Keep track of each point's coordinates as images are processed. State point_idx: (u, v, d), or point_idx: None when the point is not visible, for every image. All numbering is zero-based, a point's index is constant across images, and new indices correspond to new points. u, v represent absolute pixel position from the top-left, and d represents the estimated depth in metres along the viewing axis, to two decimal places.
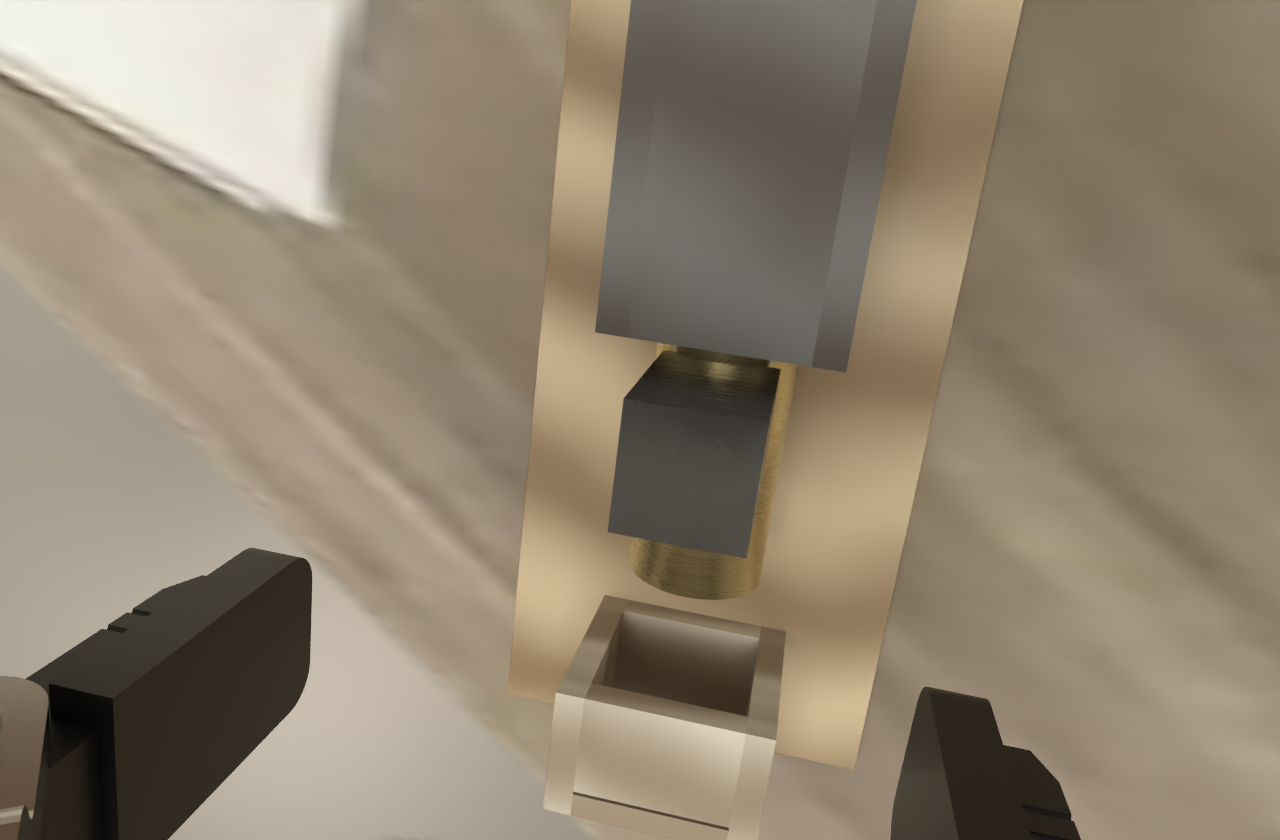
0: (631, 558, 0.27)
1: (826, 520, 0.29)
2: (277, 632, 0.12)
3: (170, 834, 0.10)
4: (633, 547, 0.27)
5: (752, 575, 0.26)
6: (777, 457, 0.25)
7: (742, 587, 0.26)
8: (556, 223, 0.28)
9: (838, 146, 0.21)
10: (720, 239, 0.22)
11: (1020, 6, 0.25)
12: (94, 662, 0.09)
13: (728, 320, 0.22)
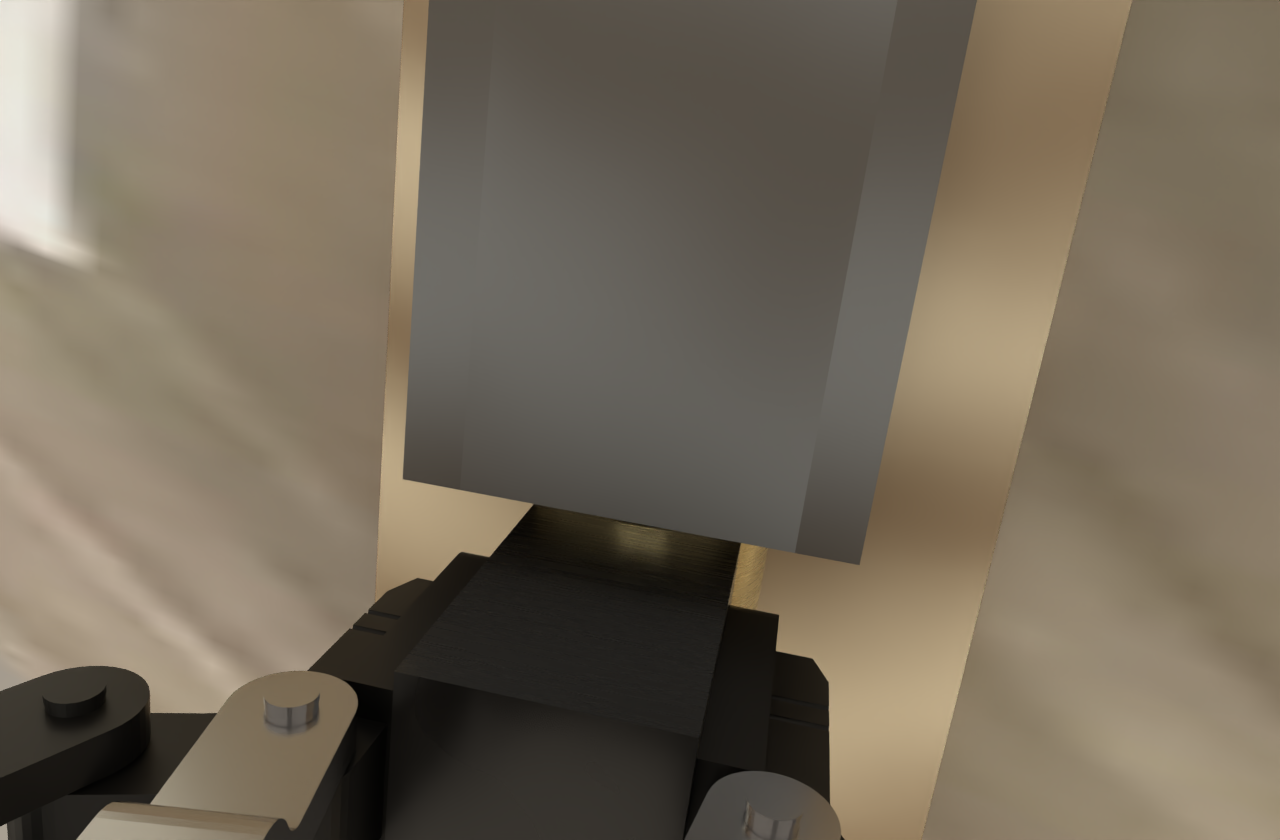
0: None
1: None
2: None
3: None
4: None
5: None
6: None
7: None
8: (400, 264, 0.18)
9: (846, 141, 0.10)
10: (622, 317, 0.11)
11: None
12: (374, 660, 0.10)
13: (640, 465, 0.12)
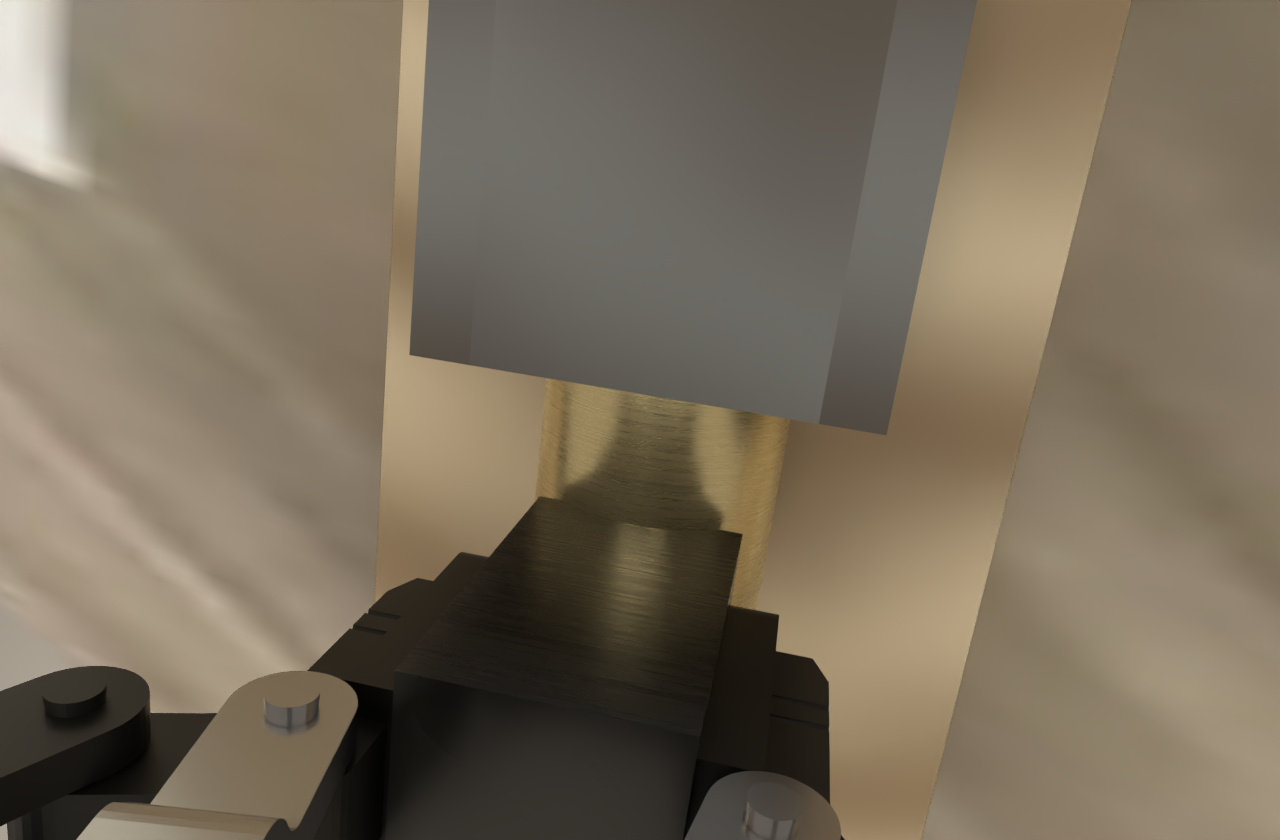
0: None
1: (837, 646, 0.19)
2: None
3: None
4: None
5: None
6: None
7: None
8: (404, 173, 0.18)
9: None
10: (639, 173, 0.11)
11: None
12: (374, 660, 0.10)
13: (657, 333, 0.11)
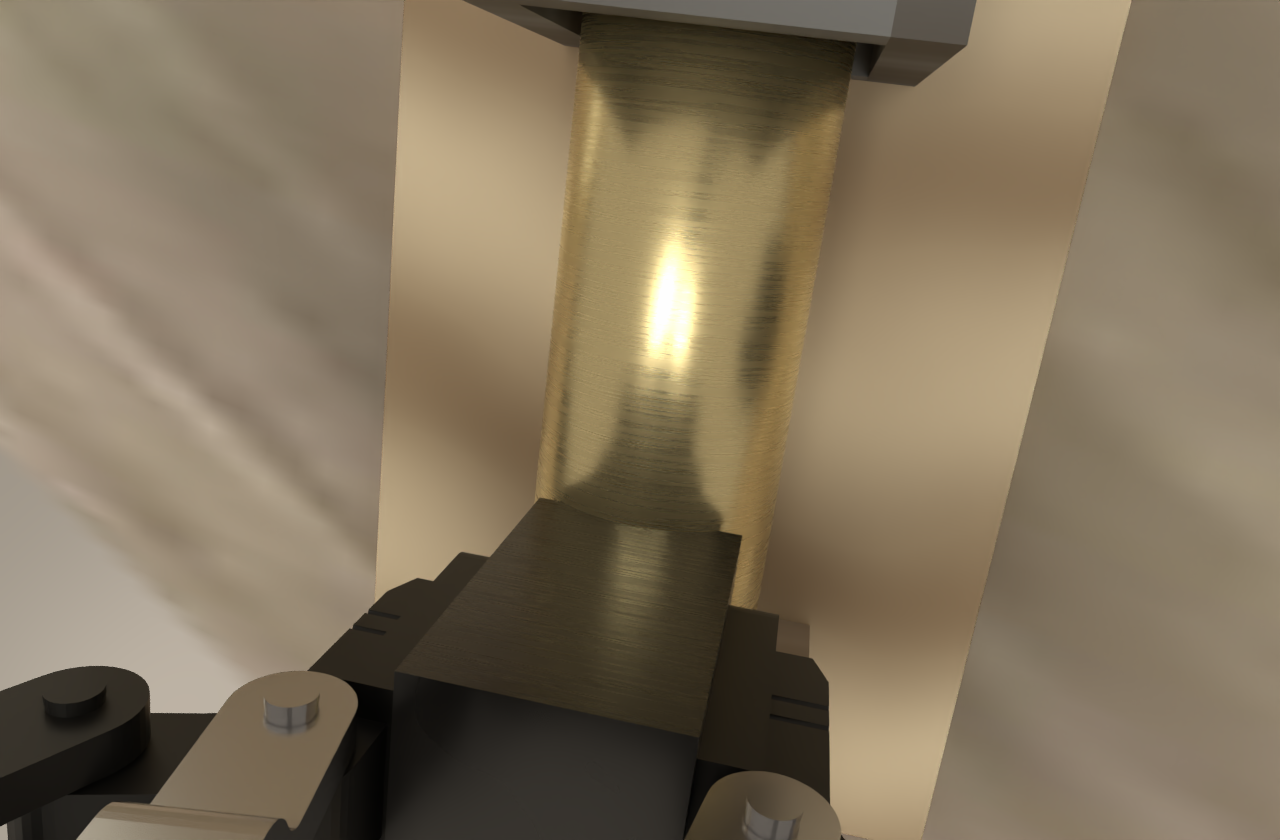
0: None
1: (880, 436, 0.17)
2: None
3: None
4: None
5: None
6: None
7: None
8: None
9: None
10: None
11: None
12: (374, 660, 0.10)
13: None
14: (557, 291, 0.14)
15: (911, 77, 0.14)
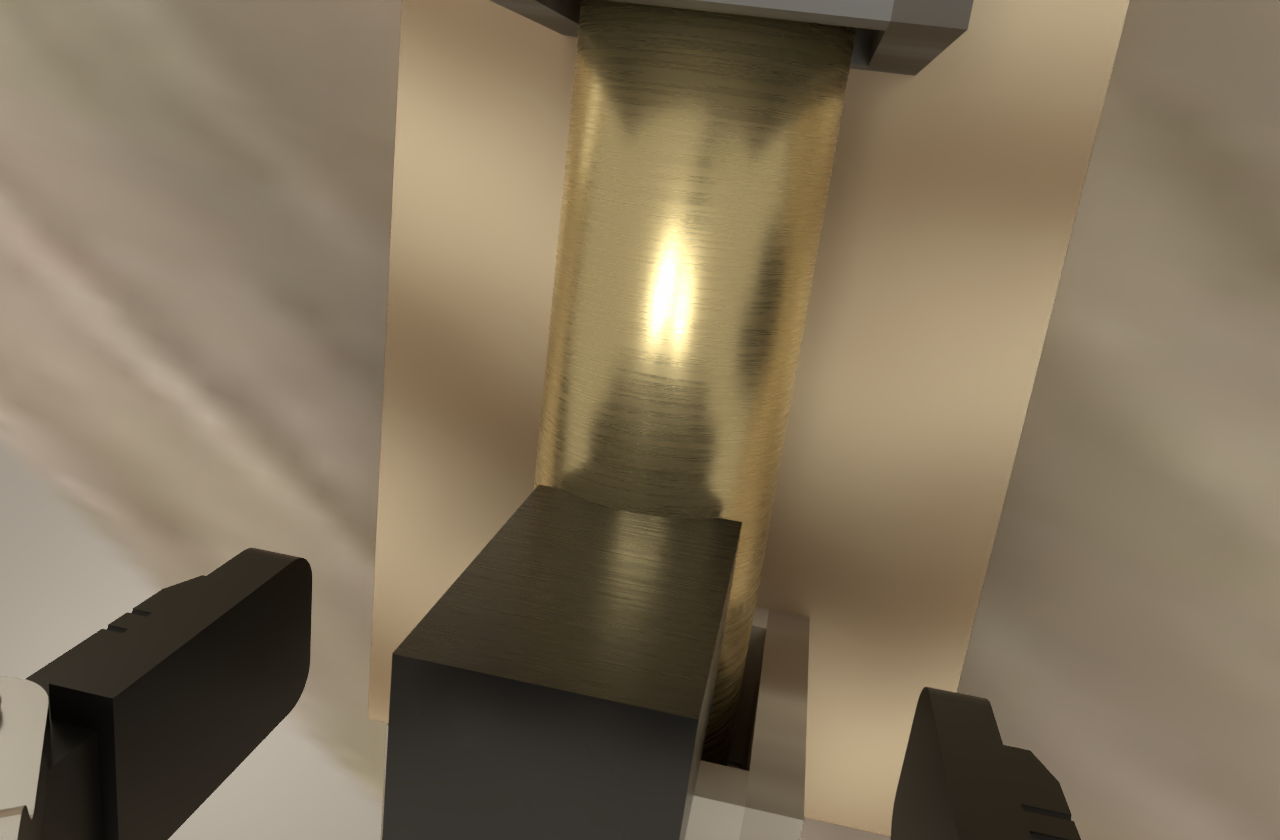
0: None
1: (880, 427, 0.17)
2: (277, 631, 0.12)
3: (170, 834, 0.10)
4: None
5: None
6: (739, 656, 0.15)
7: None
8: None
9: None
10: None
11: None
12: (94, 662, 0.09)
13: None
14: (556, 277, 0.14)
15: (911, 65, 0.14)
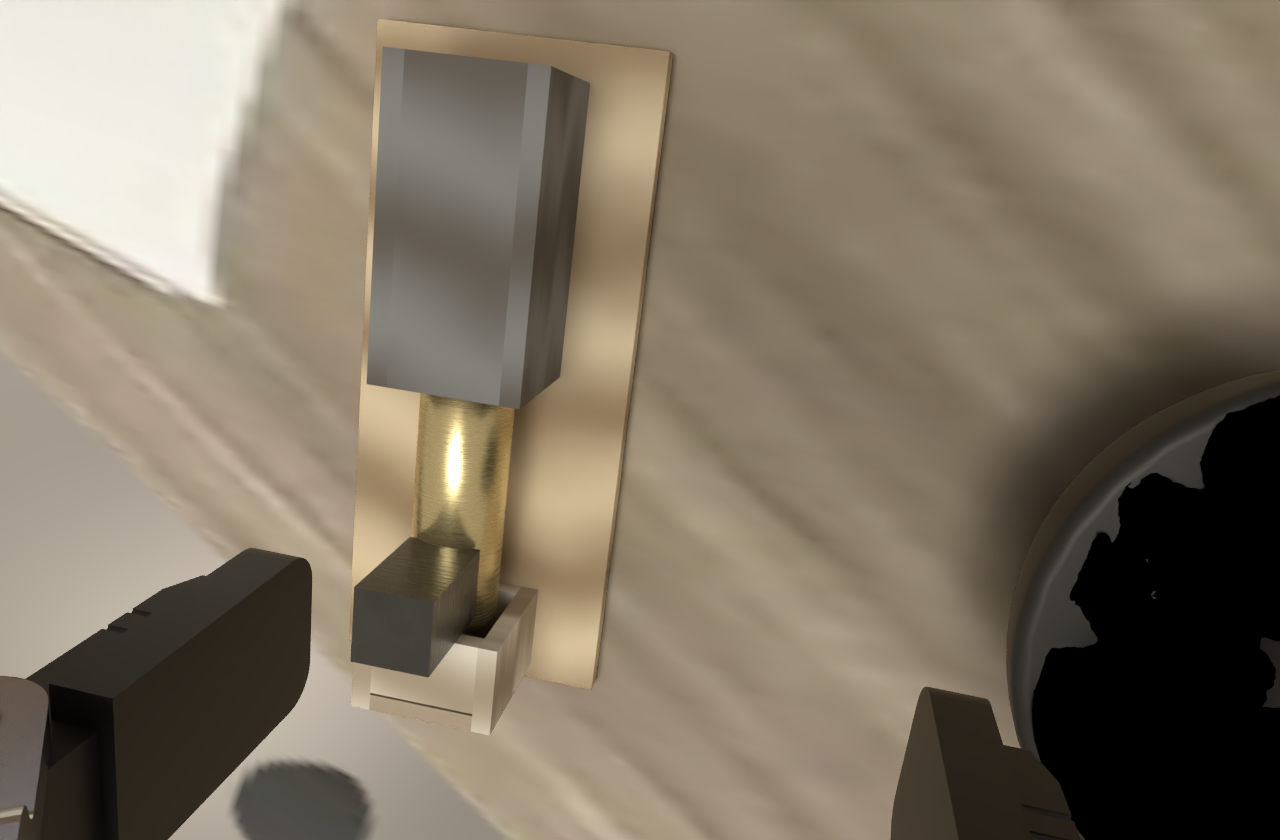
0: None
1: (559, 510, 0.42)
2: (277, 631, 0.12)
3: (170, 834, 0.10)
4: None
5: None
6: (488, 600, 0.40)
7: None
8: (368, 305, 0.42)
9: (503, 271, 0.34)
10: (438, 326, 0.35)
11: (653, 171, 0.38)
12: (94, 662, 0.09)
13: (446, 376, 0.35)
14: None
15: None
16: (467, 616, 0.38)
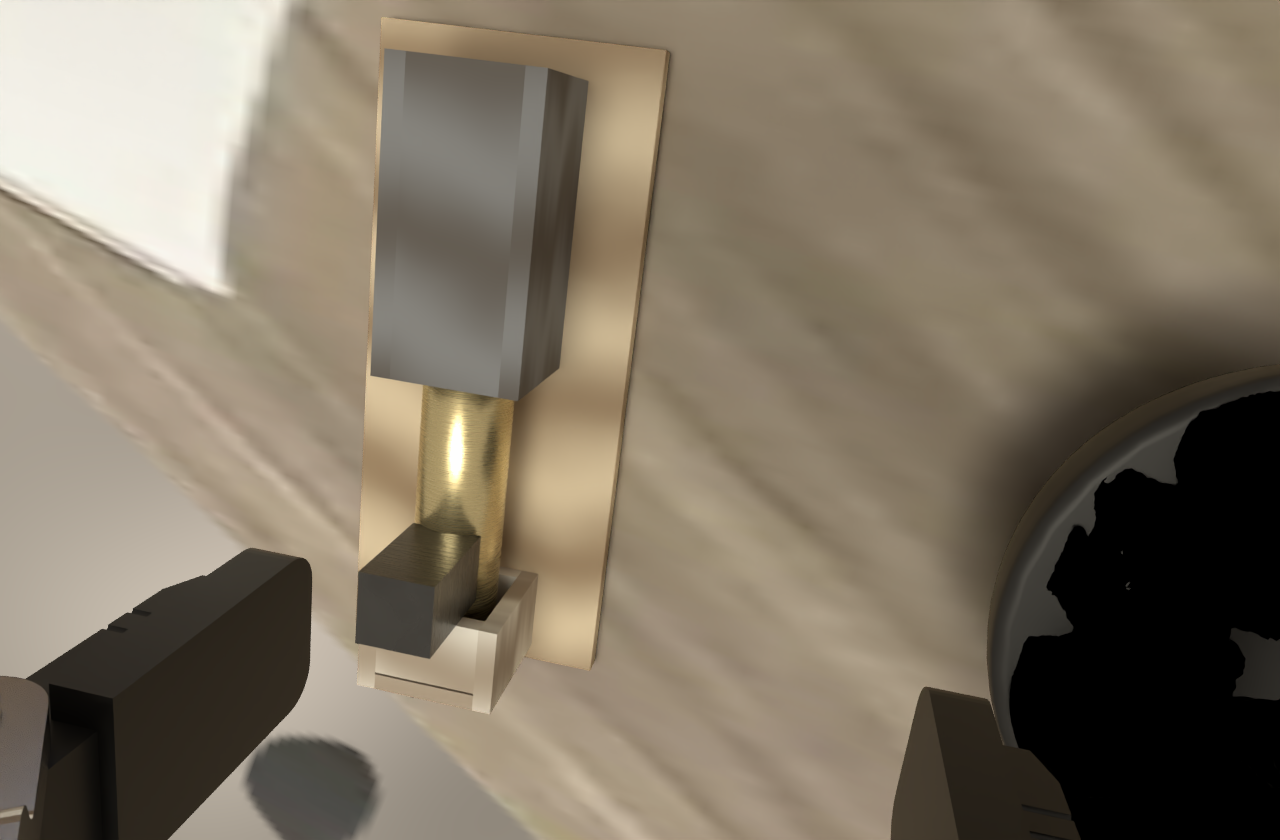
0: None
1: (558, 497, 0.44)
2: (276, 632, 0.12)
3: (170, 834, 0.10)
4: None
5: None
6: (489, 584, 0.41)
7: None
8: (373, 297, 0.43)
9: (501, 267, 0.35)
10: (439, 320, 0.36)
11: (650, 167, 0.39)
12: (94, 662, 0.09)
13: (447, 369, 0.36)
14: None
15: None
16: (468, 600, 0.39)
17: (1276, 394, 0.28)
